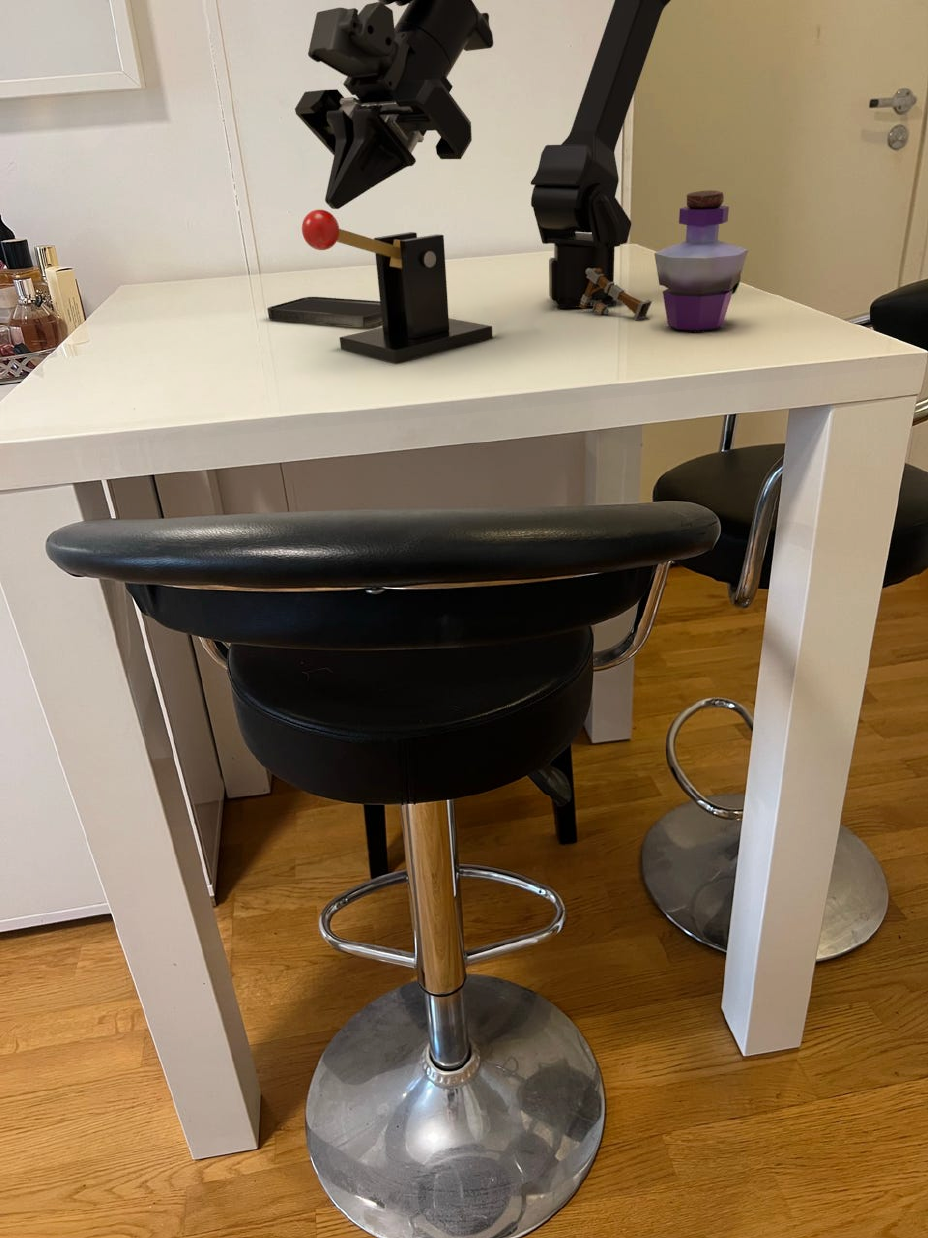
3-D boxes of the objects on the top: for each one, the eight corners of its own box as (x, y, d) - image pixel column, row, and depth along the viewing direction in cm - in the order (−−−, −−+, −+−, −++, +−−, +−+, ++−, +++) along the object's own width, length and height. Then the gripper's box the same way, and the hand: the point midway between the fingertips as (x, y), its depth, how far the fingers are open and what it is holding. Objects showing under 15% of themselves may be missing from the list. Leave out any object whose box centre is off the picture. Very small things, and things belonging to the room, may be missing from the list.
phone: (308, 296, 106) (409, 302, 99) (309, 305, 107) (410, 313, 99) (262, 308, 101) (365, 317, 93) (263, 319, 101) (366, 328, 94)
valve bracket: (396, 363, 81) (385, 248, 76) (340, 349, 87) (327, 241, 82) (493, 338, 87) (488, 230, 82) (435, 326, 93) (428, 225, 88)
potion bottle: (759, 324, 86) (774, 187, 80) (701, 340, 82) (712, 197, 76) (690, 313, 92) (699, 185, 86) (632, 327, 88) (637, 194, 82)
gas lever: (312, 246, 74) (318, 205, 73) (292, 243, 77) (297, 204, 76) (428, 279, 83) (435, 243, 82) (407, 276, 85) (414, 241, 85)
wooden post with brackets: (579, 300, 96) (594, 260, 93) (635, 338, 94) (652, 299, 90) (569, 303, 95) (584, 263, 92) (626, 342, 93) (643, 302, 89)
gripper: (298, -17, 77) (207, 136, 76) (434, -52, 64) (326, 131, 64) (380, 86, 85) (298, 224, 85) (515, 73, 73) (420, 235, 72)
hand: (330, 205), depth 76 cm, fingers closed
